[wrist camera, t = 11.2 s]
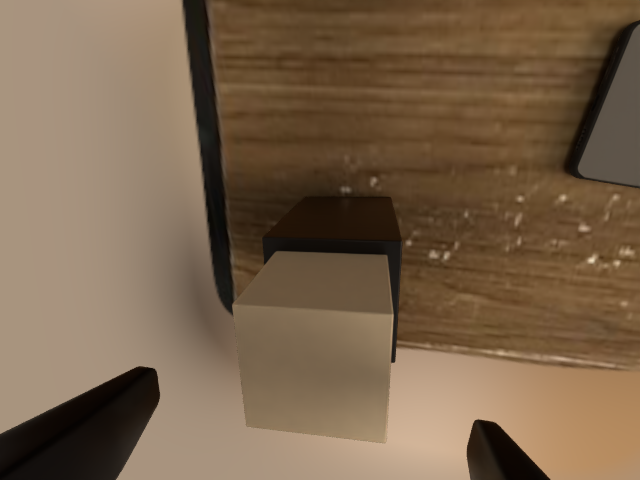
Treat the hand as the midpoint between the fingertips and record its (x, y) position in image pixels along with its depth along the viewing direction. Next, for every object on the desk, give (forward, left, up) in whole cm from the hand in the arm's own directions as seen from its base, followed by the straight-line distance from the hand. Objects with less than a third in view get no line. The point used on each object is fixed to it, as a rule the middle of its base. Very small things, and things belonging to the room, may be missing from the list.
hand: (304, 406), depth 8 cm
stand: (0, 0, -13) cm, 13 cm away
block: (0, 0, -5) cm, 5 cm away
